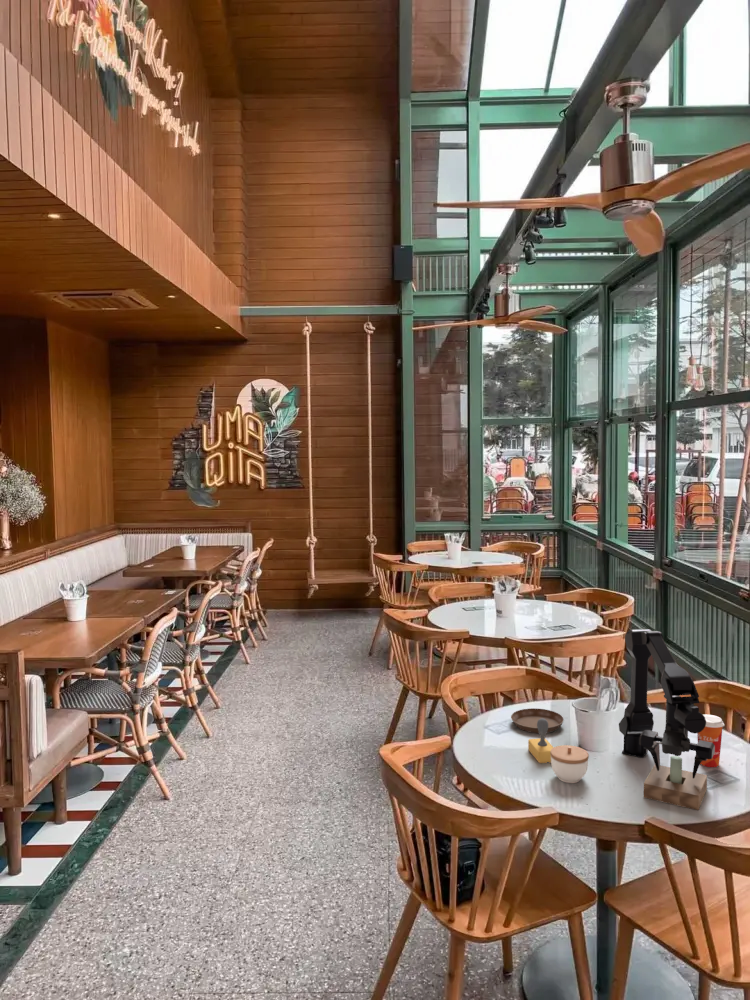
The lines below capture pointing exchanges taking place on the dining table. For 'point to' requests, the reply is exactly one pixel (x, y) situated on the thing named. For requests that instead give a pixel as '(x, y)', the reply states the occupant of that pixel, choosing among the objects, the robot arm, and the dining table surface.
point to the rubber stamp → (541, 743)
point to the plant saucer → (536, 719)
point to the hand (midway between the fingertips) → (675, 773)
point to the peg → (676, 769)
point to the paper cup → (712, 738)
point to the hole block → (675, 788)
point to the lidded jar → (569, 763)
